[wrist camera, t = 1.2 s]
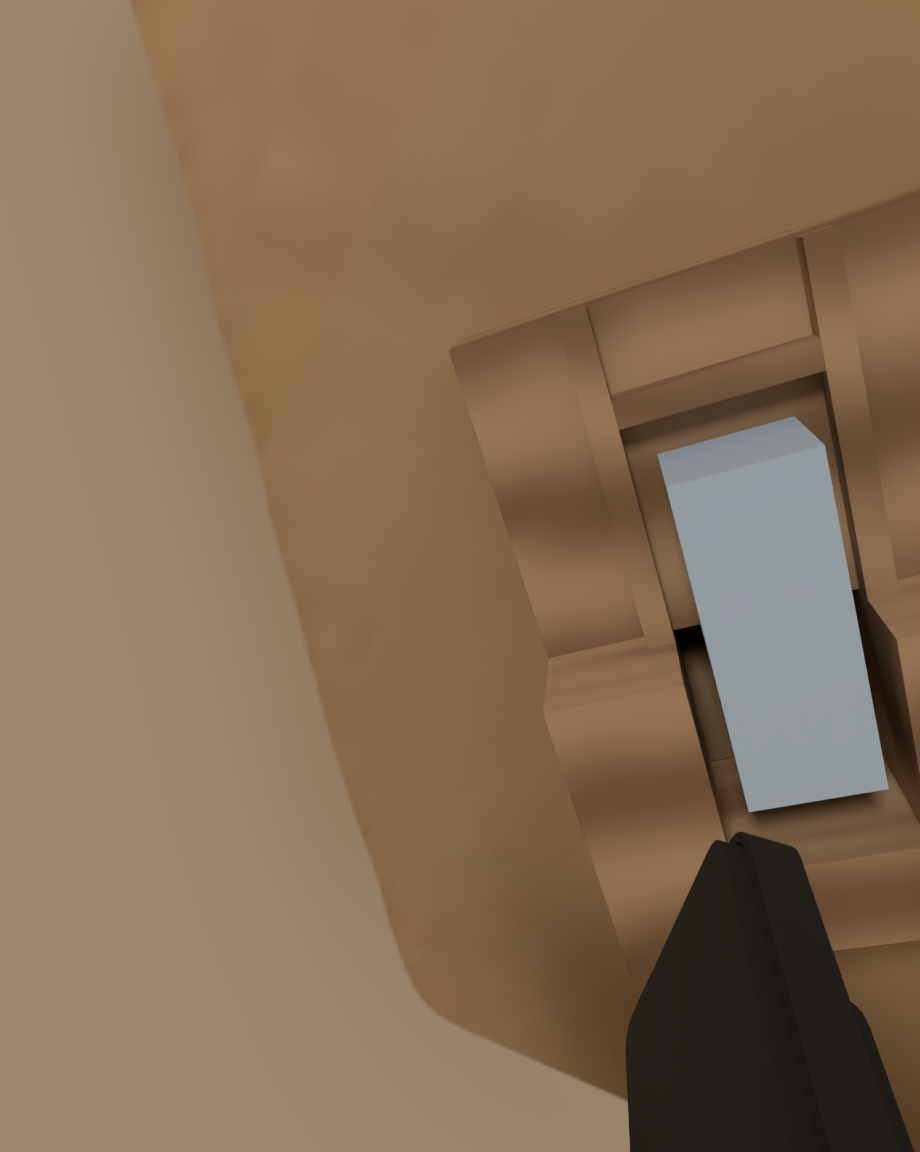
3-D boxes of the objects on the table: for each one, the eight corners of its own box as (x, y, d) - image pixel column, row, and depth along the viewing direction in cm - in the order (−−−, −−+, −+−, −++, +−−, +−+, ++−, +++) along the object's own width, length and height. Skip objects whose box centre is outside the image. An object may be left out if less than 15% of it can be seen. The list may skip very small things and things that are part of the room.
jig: (461, 339, 31) (427, 368, 25) (927, 185, 27) (1030, 172, 21) (624, 852, 39) (630, 975, 32) (1006, 791, 35) (1099, 917, 28)
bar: (657, 454, 29) (666, 487, 25) (794, 416, 28) (824, 445, 24) (731, 746, 33) (748, 812, 29) (854, 723, 31) (888, 788, 28)
